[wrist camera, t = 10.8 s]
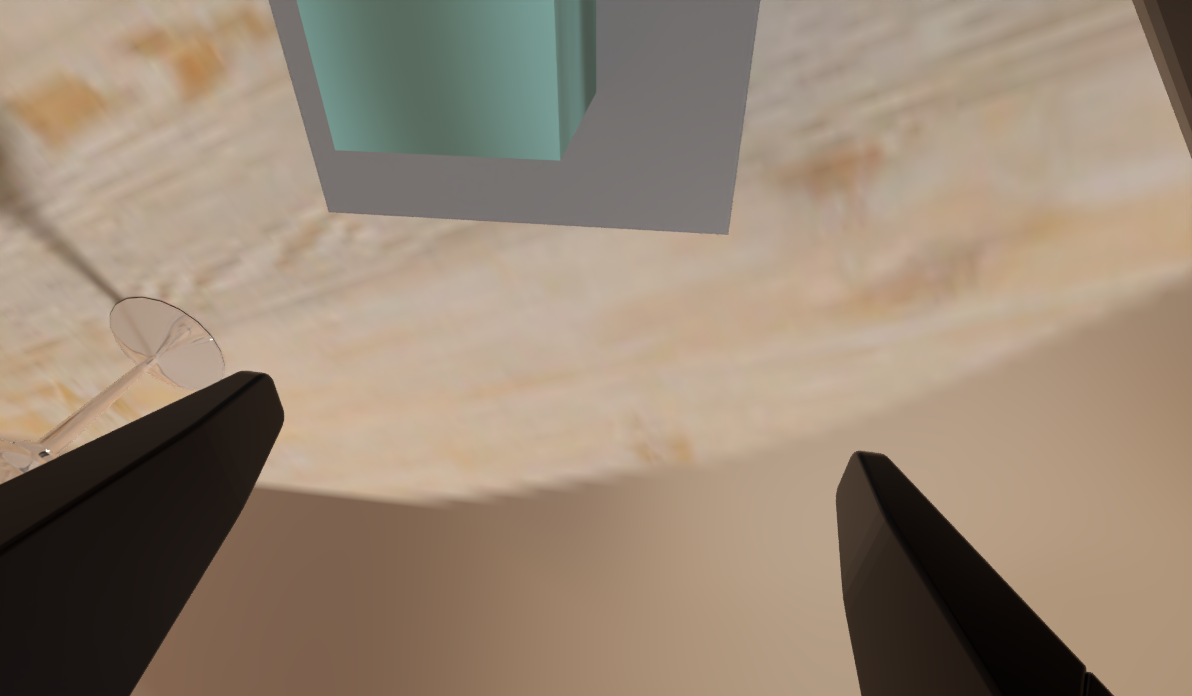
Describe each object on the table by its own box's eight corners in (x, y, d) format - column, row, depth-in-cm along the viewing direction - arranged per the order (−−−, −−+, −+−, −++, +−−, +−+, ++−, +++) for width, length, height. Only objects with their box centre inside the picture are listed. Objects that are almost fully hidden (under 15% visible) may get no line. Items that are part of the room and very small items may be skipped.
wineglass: (210, 285, 24) (-109, 538, 15) (264, 411, 28) (42, 674, 19) (57, 272, 25) (-341, 505, 15) (131, 397, 29) (-148, 644, 20)
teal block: (596, -134, 13) (548, -147, 9) (596, 91, 16) (559, 160, 12) (391, -132, 13) (259, -143, 9) (426, 86, 16) (335, 150, 12)
